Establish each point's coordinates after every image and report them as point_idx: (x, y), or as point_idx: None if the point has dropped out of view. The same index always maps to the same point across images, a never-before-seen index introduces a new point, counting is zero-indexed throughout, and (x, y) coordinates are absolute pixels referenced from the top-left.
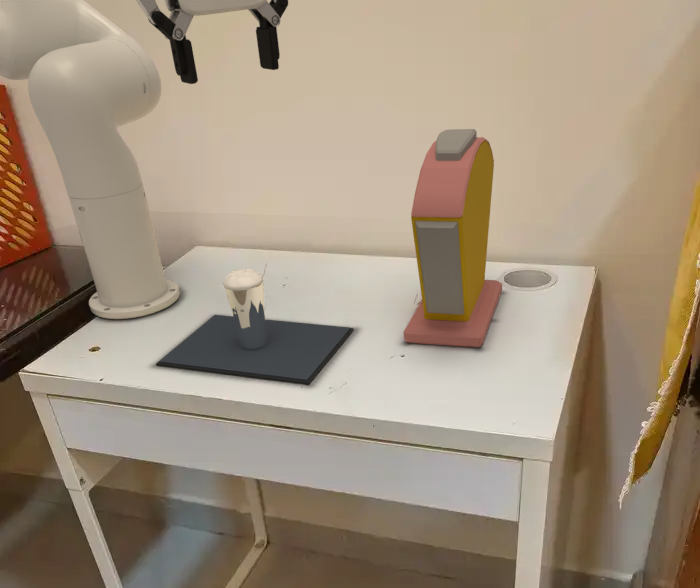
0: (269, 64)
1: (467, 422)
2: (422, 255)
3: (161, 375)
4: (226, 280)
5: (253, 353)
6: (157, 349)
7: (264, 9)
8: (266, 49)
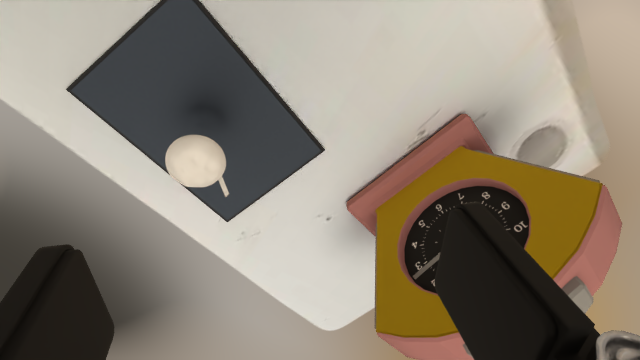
0: (443, 280)
1: (303, 308)
2: (375, 292)
3: (73, 117)
4: (168, 163)
5: None
6: (71, 36)
7: None
8: (472, 314)
